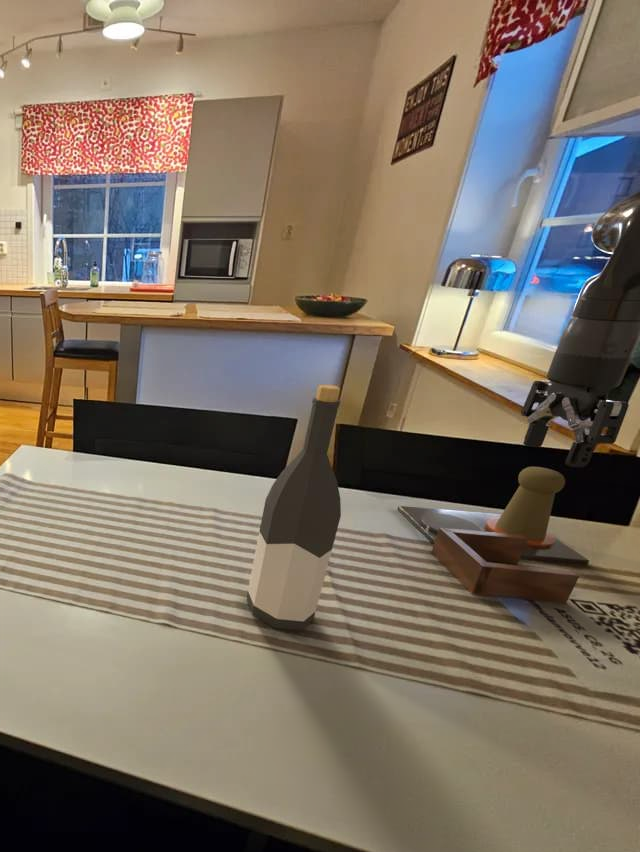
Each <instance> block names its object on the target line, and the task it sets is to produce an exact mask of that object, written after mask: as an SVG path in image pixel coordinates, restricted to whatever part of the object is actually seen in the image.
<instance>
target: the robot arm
mask: <svg viewBox="0 0 640 852" xmlns="http://www.w3.org/2000/svg"><path fill="white" fill-rule="evenodd" d="M591 241H592V243H593V245H594V246H595V247H596V248H597V249H598V250H600V251H602V252H604V253H606V254H611V255H610V257H609V258H608V260H607V263H606V264H605V266H604V268H603V269H602V270H601V272H600V273H598V274H596V275H593V276H591V277H590V278H588V279H587V280H586V281H585V283H584V284H583V286H582V288H581V290H580V292H579V294H578V298H577V299H576V303H575V304H574V308H573V310H572V313H571V316H570V318H569V320H568V323H567V324H566V325H565V327H564V329H563V331H562V333H561V336H560V339H559V341H558V344H557V347H556V350H555V351H554V355H553V357H552V360H551V363H550V365H549V368H548V371H547V374H546V379H547V380H535V381H533V383H532V384H531V387H530V389H529V392H528V394H527V396H526V399H525V402H524V404H523V407H522V408H521V412H520V414H521V416H522V417H526V418H527V422H528V423H529V425H528V427H527V430H526V432H525V436H524V440H523V445H524V446H526V447H527V448H528V447H529V448H540V447H542V446H543V445H544V441H545V439H546V436H547V434H548V431H549V428H550V425H548V424H550V423H552V422H553V421H554V420H555V419H558V417H559V418H561V419H562V420H564V421H566V422H567V425H568V428H570V429H572V430H573V436H574V441H573V442H572V444H571V447H570V449H569V452H568V454H567V456H566V458H565V461H564V464H565V466H568V467H571V468H584V467H586V466H587V465H588V464H589V463H590V461H591V458H592V457H593V454H594V452H595V449H596V447H597V446H598V445H602V444H603V445H604V444H605V445H607V444H608V445H613V444H614V443H616V441H617V438H618V435H619V433H620V430H621V427H622V426H623V422H624V420H625V417H626V415H627V412H628V409H629V403H628V402H627V401H619V400H617V401H615V400H609V399H608V397H609V392H610V390H612V389H614V388H615V389H616V388H617V387H619V386H620V385H621V384H622V381H623V379H624V376H625V375H626V372H627V369H628V367H629V365H630V362H631V360H632V358H633V355H634V353H635V350H636V349H637V346H638V344H639V342H640V190H639V191H637V192H635V193H633V194H631V195H629V196H627V197H626V198H624V199H622V200H620V201H619V202H617V203H616V204H614V205H613V206H612V207H610V208H609V209H608V210H607V211H605V212H604V213H603V214H602V215H601V216H600V218H598V219H597V221H596V223H595V224H594V226H593V229H592V232H591ZM535 404H537V406H536V407H535V408H533V407H534V405H535ZM604 428H607V429H606V430H605V431H606V432H605V434H603V430H604ZM586 430H588V434H587V433H586Z"/></svg>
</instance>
